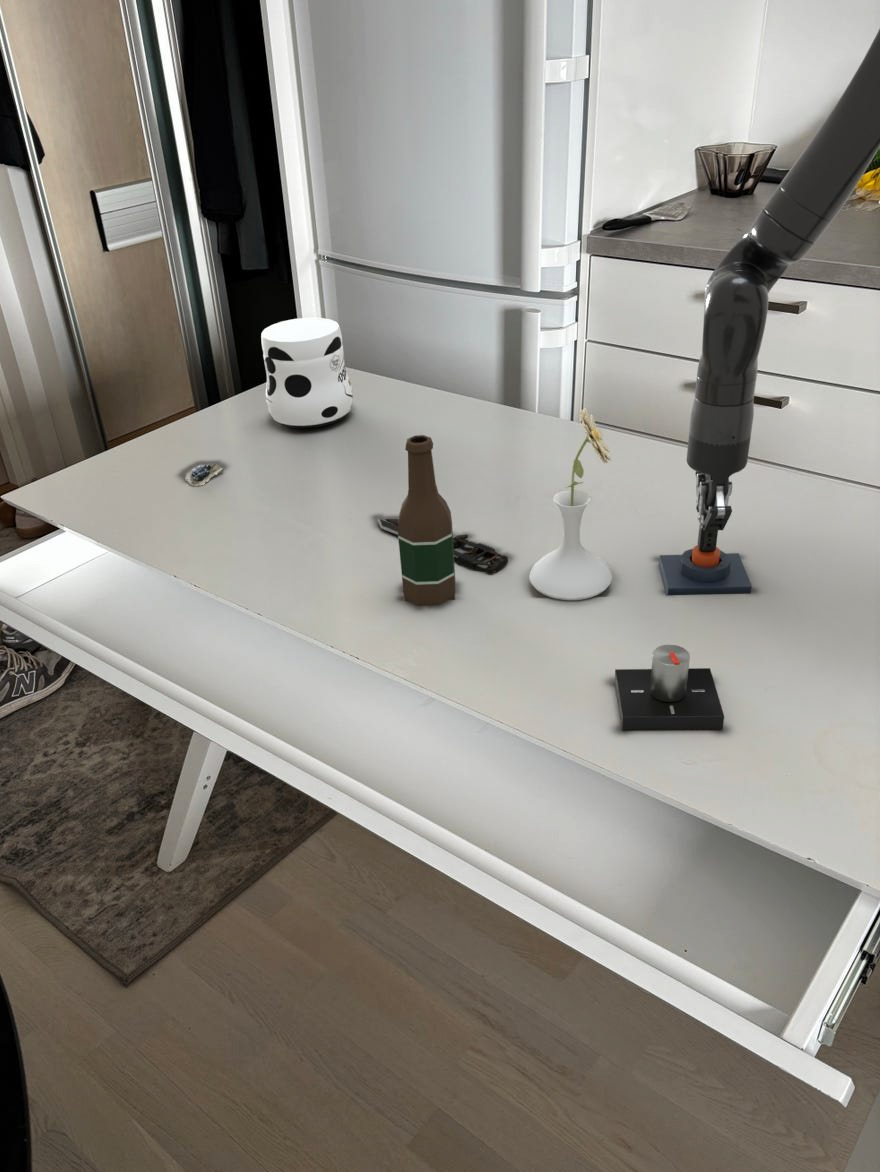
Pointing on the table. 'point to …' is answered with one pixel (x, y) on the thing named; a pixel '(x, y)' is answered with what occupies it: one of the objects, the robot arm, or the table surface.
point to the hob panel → (667, 703)
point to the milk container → (306, 373)
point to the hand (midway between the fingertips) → (706, 549)
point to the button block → (703, 575)
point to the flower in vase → (574, 538)
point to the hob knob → (669, 673)
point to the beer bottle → (425, 532)
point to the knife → (460, 542)
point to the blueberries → (202, 474)
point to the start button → (705, 557)
